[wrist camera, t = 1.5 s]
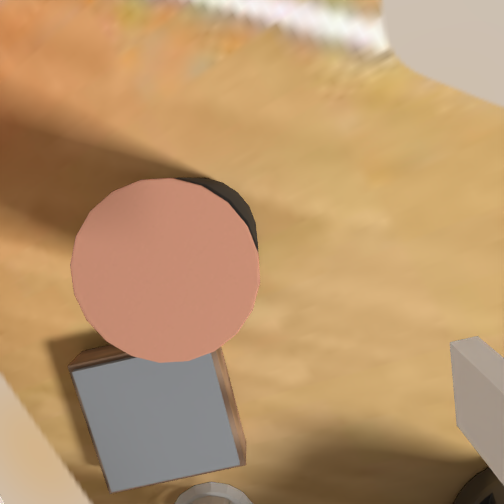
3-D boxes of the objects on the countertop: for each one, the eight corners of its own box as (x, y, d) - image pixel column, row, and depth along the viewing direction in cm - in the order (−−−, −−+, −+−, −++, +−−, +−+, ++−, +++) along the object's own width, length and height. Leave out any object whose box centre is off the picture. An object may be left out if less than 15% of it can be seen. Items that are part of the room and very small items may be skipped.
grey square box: (246, 443, 45) (245, 468, 41) (120, 470, 46) (108, 497, 42) (214, 321, 43) (210, 335, 39) (82, 351, 43) (65, 368, 39)
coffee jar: (162, 296, 42) (99, 380, 24) (135, 191, 40) (44, 201, 23) (266, 273, 42) (278, 343, 24) (243, 166, 40) (237, 157, 22)
